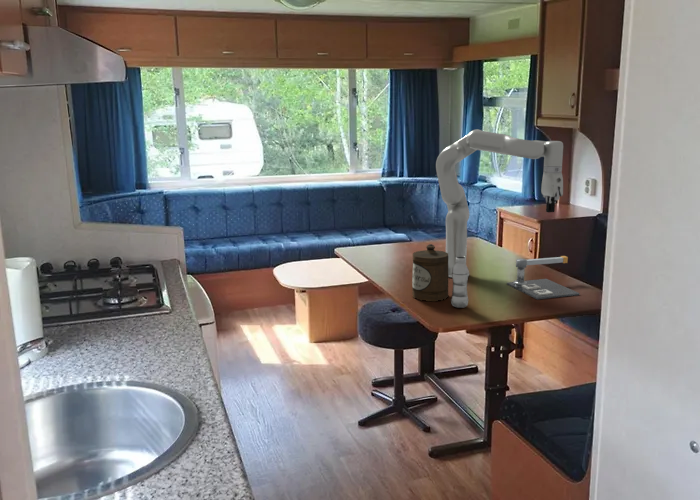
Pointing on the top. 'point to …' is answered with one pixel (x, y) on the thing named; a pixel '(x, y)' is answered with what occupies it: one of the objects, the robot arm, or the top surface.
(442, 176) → the robot arm
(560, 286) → the board
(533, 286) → the label plate
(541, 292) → the label plate
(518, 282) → the grey metal rounded piece
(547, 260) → the bar
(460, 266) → the plastic bottle
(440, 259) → the wooden container
